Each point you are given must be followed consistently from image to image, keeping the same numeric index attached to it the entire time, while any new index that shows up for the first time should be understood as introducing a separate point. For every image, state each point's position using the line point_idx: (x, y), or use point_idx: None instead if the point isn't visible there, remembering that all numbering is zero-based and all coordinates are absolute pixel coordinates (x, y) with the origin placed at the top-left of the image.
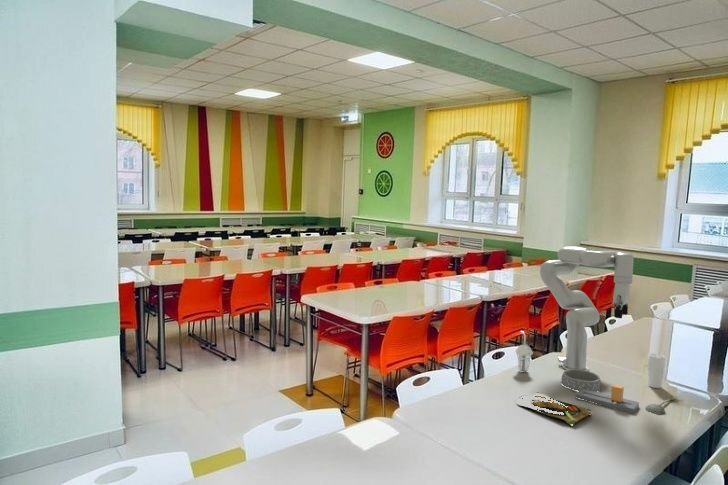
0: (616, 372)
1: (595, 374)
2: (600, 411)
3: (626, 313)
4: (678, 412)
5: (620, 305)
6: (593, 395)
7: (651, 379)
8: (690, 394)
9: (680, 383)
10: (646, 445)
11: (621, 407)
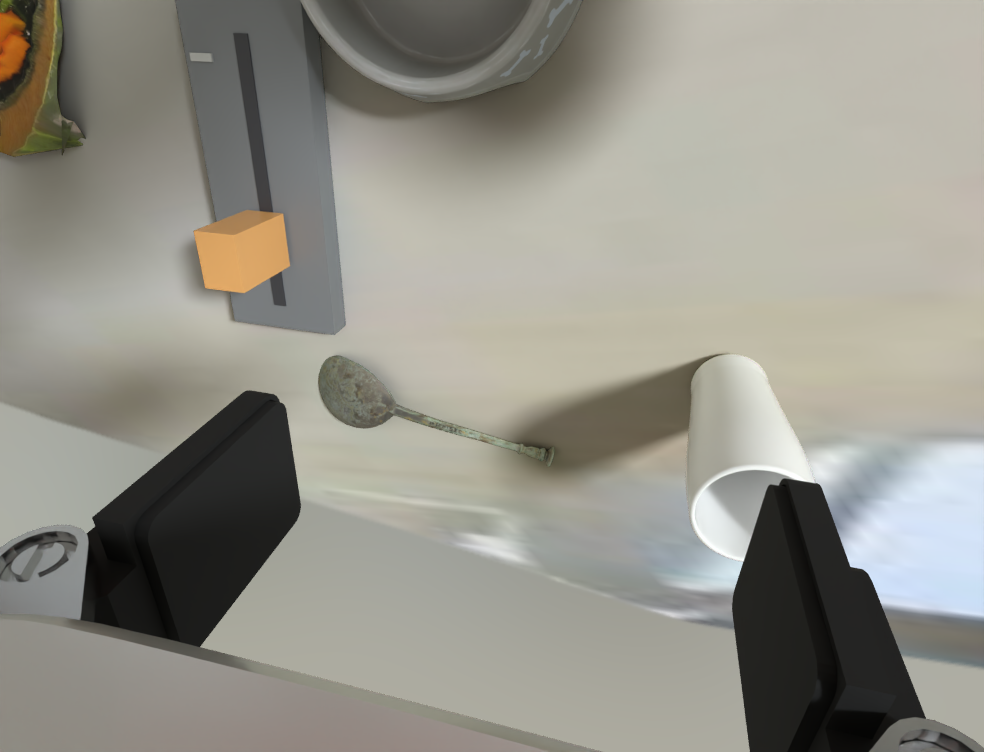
0: (954, 119)
1: (516, 33)
2: (151, 174)
3: (735, 617)
4: (408, 468)
5: (839, 690)
6: (240, 104)
7: (697, 390)
8: None
9: (879, 504)
10: (37, 369)
11: None
